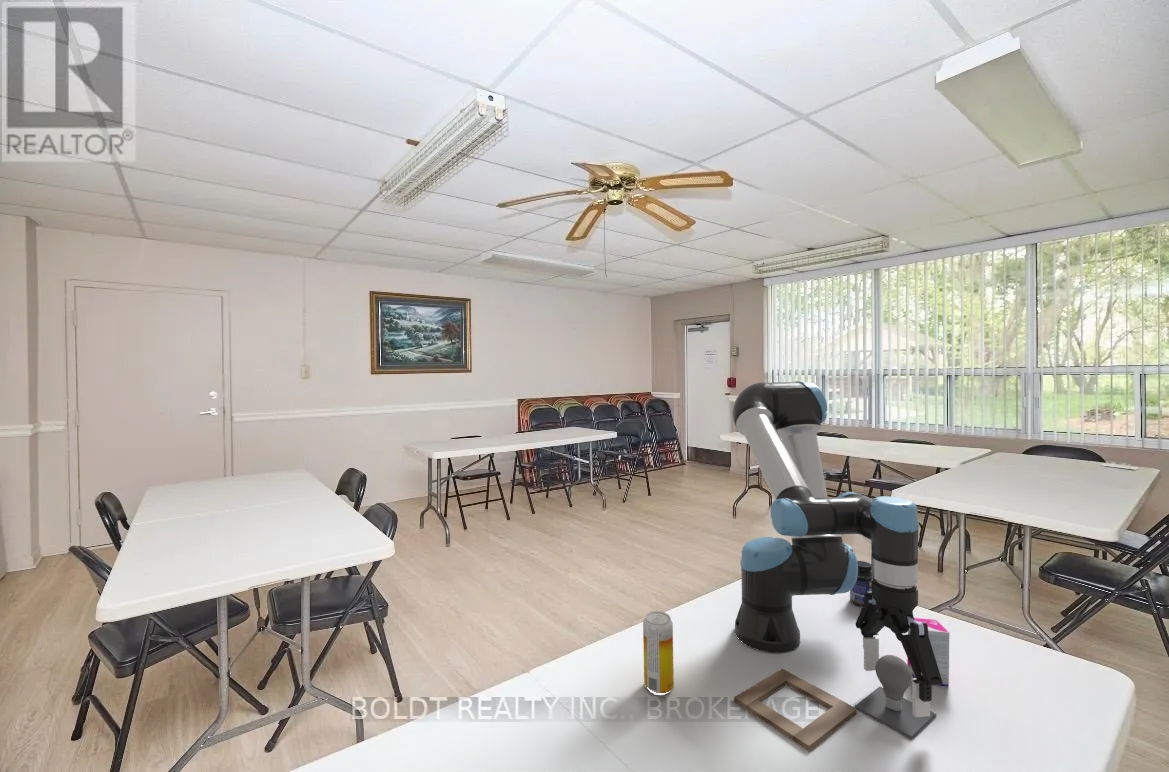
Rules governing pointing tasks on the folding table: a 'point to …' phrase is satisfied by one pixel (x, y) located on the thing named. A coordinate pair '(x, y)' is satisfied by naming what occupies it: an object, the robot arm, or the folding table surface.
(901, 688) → the light bulb
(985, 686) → the folding table surface
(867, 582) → the pill bottle
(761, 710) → the wooden picture frame
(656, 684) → the beer can
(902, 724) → the mat
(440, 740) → the folding table surface
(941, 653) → the supplement box
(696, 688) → the folding table surface
